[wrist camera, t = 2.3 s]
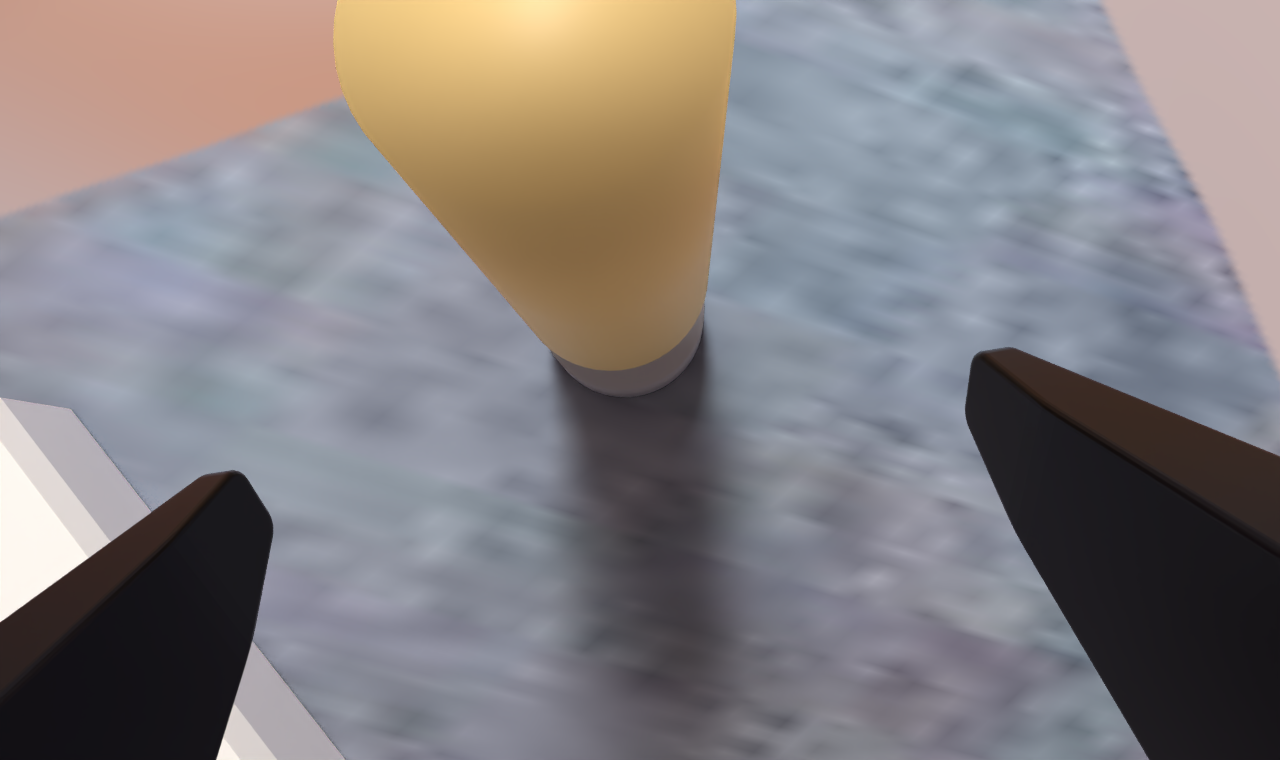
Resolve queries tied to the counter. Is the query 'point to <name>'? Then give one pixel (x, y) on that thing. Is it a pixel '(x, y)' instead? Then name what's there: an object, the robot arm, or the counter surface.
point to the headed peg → (560, 158)
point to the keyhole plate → (86, 522)
